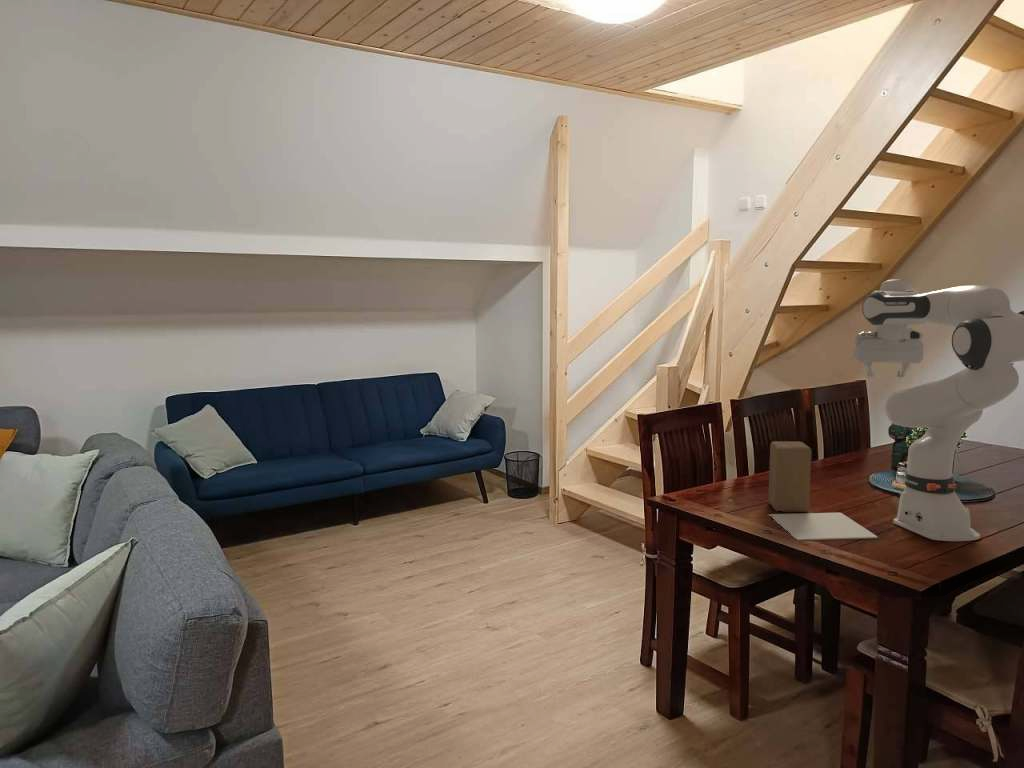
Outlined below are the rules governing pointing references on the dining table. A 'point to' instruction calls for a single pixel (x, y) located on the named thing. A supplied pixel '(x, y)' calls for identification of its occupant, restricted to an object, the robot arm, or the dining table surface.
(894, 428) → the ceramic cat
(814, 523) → the mat
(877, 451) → the dining table surface
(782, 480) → the block
